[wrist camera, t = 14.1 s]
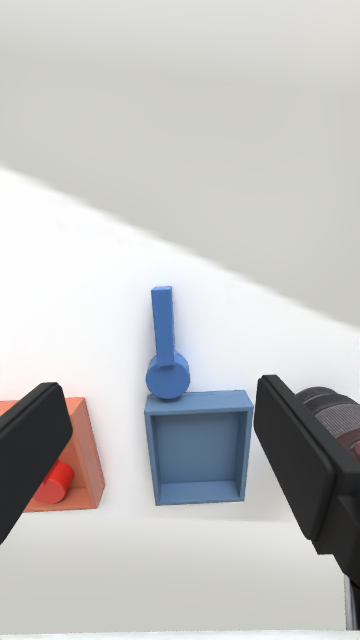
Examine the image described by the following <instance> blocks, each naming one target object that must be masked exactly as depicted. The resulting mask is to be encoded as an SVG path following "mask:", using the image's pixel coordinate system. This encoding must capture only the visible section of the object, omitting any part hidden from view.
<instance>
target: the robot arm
mask: <svg viewBox="0 0 360 640" xmlns="http://www.w3.org/2000/svg"><path fill="white" fill-rule="evenodd" d="M254 430H255V433H256V435H257V437H258V439H259V441H260V444H261V446H262V448H263V450H264V452H265V454H266V456H267V458H268V461H269V463H270V465H271V467H272V469H273V471H274V473H275V476H276V478H277V480H278V482H279V484H280V486H281V488H282V490H283V493H284V495H285V497H286V499H287V501H288V503H289V505H290V508H291V510H292V512H293V514H294V516H295V518H296V520H297V522H298V525H299V527H300V529H301V531H302V533H303V534H304V536H305V537H306V538H307V539H308V540H311V541H312V544H313V546H314V548H315V550H316V552H317V554H318V555H320V554H321V555H324V554H333V555H334V557H335V559H336V561H337V563H338V565H339V567H340V568H341V570H342V572H343V573H344V592H345V615H346V631H344V630H342V631H341V630H220V631H154V632H153V631H152V632H105V633H61V634H59V633H58V634H13V635H0V640H360V464H359V463H358V462H357V461H356V460H355V458H354V457H353V456H352V455H351V454H350V453H349V452H348V451H347V450H346V449H345V448H344V447H343V446H342V445H341V443H340V442H339V441H338V440H337V439H336V438H335V437H334V436H333V435H332V434H331V433H330V432H329V431H328V430H327V428H326V427H325V426H324V425H323V424H322V423H321V422H320V421H319V420H318V419H317V418H316V417H315V416H314V415H313V413H312V412H311V411H310V410H309V409H308V408H307V407H306V406H305V405H304V404H303V403H302V402H301V401H300V400H299V398H298V397H297V396H296V395H295V394H294V393H293V392H292V391H291V390H290V389H289V388H288V387H287V386H286V385H285V383H284V382H283V381H282V380H281V379H280V378H279V377H278V376H277V375H263V376H262V377H261V378H259V379H258V384H257V394H256V404H255V413H254ZM72 434H73V427H72V423H71V420H70V416H69V412H68V409H67V405H66V401H65V398H64V394H63V390H62V387H61V386H60V385H59V384H58V383H56V382H47V383H41V384H39V385H38V386H37V387H36V388H34V389H33V390H32V391H31V392H30V393H28V394H27V395H26V396H25V397H23V398H22V399H21V400H20V401H18V402H17V403H16V404H15V405H13V406H12V407H11V408H10V409H9V410H7V411H6V412H5V413H4V414H2V415H1V416H0V545H1V543H3V541H4V540H5V539H6V537H7V536H8V534H9V533H10V531H11V529H12V528H13V526H14V525H15V523H16V522H17V520H18V519H19V517H20V516H21V514H22V513H23V511H24V510H25V508H26V507H27V505H28V503H29V502H30V500H31V499H32V497H33V496H34V494H35V493H36V491H37V490H38V488H39V487H40V485H41V483H42V482H43V480H44V479H45V477H46V476H47V474H48V473H49V471H50V470H51V468H52V467H53V465H54V463H55V462H56V460H57V459H58V457H59V456H60V454H61V453H62V451H63V450H64V448H65V447H66V445H67V443H68V442H69V440H70V439H71V437H72Z"/></svg>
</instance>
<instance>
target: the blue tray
mask: <svg viewBox="0 0 360 640" xmlns="http://www.w3.org/2000/svg"><path fill="white" fill-rule="evenodd" d="M253 408H254V406H253V404H252V403H251V401H250V399H249V397H248V396H247V394H246V392H245V390H235V391H213V392H192V393H183V394H182V395H180V396H178V397H176V398H171V399H165V398H160V397H158V396H156V395H154V394H149V395H148V397H147V401H146V405H145V410H144V415H145V423H146V431H147V440H148V448H149V456H150V464H151V472H152V480H153V488H154V497H155V505H156V506H161V505H180V504H200V503H219V502H239V501H244V498H245V488H246V478H247V468H248V458H249V448H250V438H251V428H252V418H253Z"/></svg>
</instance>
